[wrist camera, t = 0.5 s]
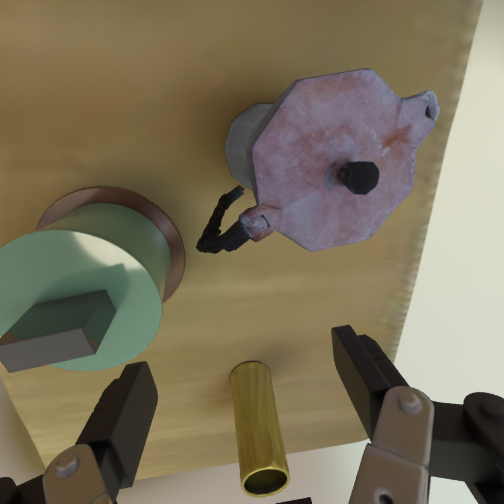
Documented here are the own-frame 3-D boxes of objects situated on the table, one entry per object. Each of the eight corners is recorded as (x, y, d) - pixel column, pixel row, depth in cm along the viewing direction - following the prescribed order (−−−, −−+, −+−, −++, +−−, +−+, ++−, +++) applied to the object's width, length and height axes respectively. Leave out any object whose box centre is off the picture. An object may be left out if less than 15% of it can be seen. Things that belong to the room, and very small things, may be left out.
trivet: (8, 203, 30) (4, 204, 30) (162, 173, 31) (161, 174, 30) (73, 325, 37) (71, 328, 36) (199, 299, 37) (199, 301, 37)
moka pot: (347, 146, 32) (524, 178, 14) (234, 229, 34) (259, 351, 16) (302, 61, 28) (463, -48, 10) (178, 161, 30) (129, 219, 12)
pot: (154, 187, 30) (108, 237, 17) (188, 297, 36) (173, 398, 23) (-34, 223, 30) (-233, 305, 16) (31, 330, 36) (-77, 454, 22)
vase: (276, 382, 45) (301, 487, 32) (239, 396, 45) (250, 506, 32) (261, 355, 42) (282, 457, 30) (222, 370, 43) (227, 478, 30)
